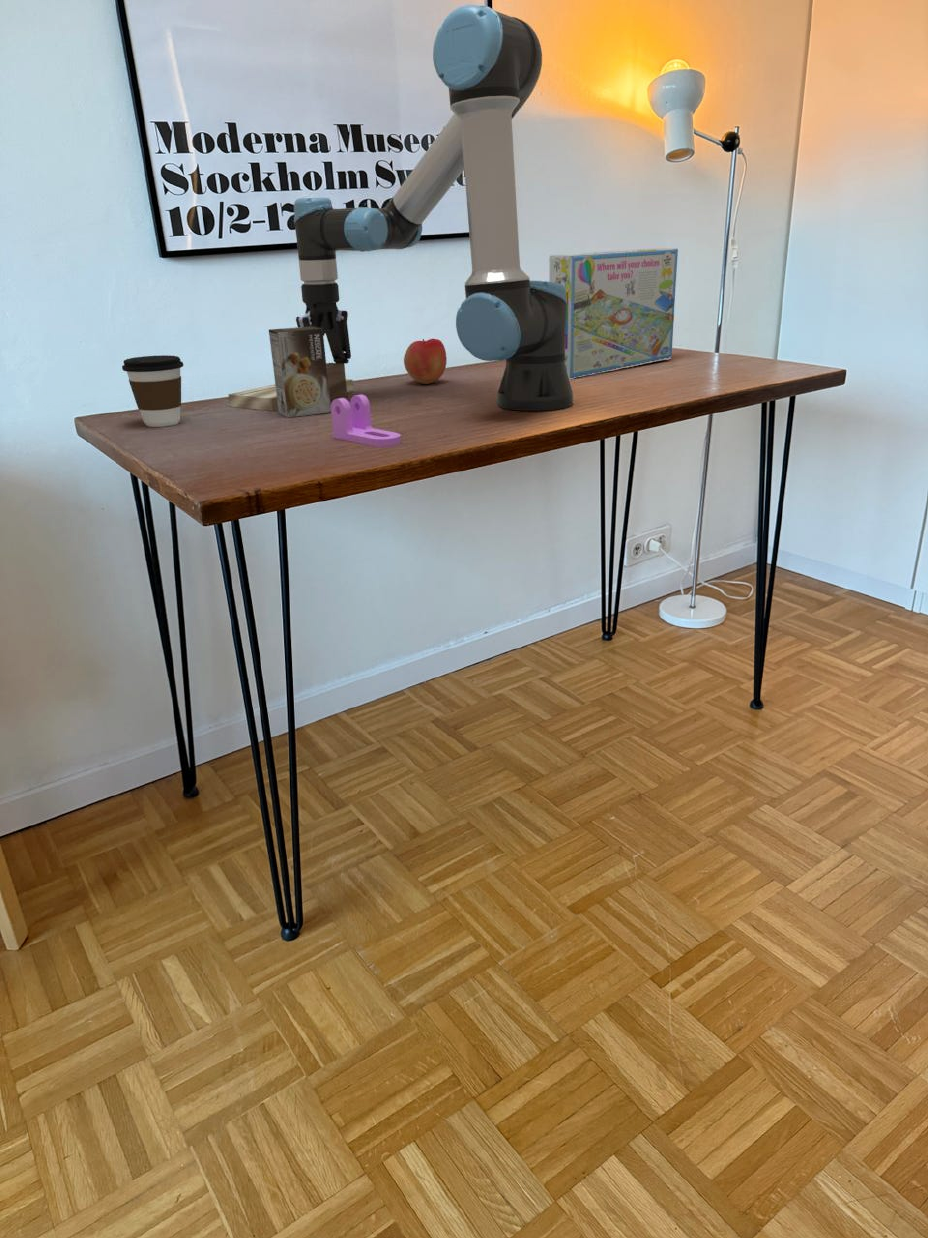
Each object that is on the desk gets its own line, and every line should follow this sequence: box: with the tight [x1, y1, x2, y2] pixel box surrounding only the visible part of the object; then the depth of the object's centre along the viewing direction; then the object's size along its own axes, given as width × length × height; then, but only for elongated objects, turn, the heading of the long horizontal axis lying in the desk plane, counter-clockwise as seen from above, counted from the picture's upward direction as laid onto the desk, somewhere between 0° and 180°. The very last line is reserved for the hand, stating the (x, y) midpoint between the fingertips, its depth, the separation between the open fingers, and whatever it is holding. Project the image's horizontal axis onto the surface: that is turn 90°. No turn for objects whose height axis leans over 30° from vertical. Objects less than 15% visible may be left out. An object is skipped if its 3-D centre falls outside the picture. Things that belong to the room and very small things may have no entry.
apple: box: [403, 338, 447, 385], centre depth 200 cm, size 10×10×10 cm
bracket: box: [330, 394, 402, 448], centre depth 146 cm, size 13×6×7 cm, turn 46°
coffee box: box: [268, 326, 331, 419], centre depth 168 cm, size 9×6×16 cm
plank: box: [228, 378, 354, 412], centre depth 187 cm, size 12×26×3 cm, turn 148°
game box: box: [549, 247, 679, 378], centre depth 210 cm, size 40×7×27 cm, turn 132°
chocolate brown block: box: [326, 362, 348, 403], centre depth 186 cm, size 14×6×7 cm, turn 57°
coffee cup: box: [121, 354, 185, 428], centre depth 163 cm, size 11×11×12 cm
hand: (329, 397), depth 185 cm, fingers closed on chocolate brown block, 6 cm apart
